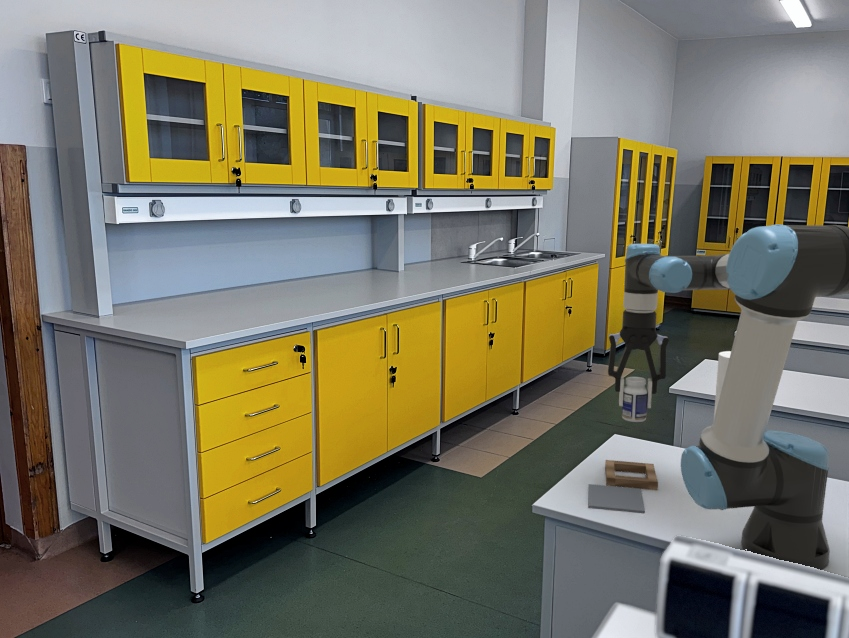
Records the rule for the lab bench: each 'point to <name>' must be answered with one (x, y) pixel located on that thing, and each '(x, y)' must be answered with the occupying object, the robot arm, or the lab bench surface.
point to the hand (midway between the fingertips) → (634, 405)
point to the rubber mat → (615, 498)
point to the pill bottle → (635, 400)
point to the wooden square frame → (628, 481)
